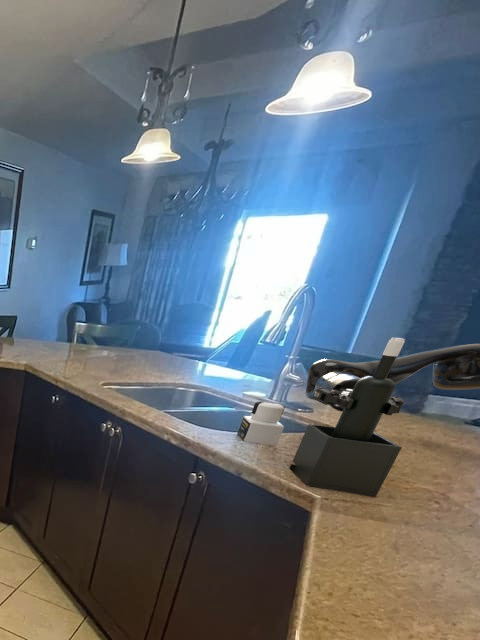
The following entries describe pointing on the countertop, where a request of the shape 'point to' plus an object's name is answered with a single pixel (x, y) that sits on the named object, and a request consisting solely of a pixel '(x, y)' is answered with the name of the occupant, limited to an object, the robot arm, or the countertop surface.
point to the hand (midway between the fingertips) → (370, 407)
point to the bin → (343, 461)
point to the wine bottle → (369, 399)
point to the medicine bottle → (262, 424)
